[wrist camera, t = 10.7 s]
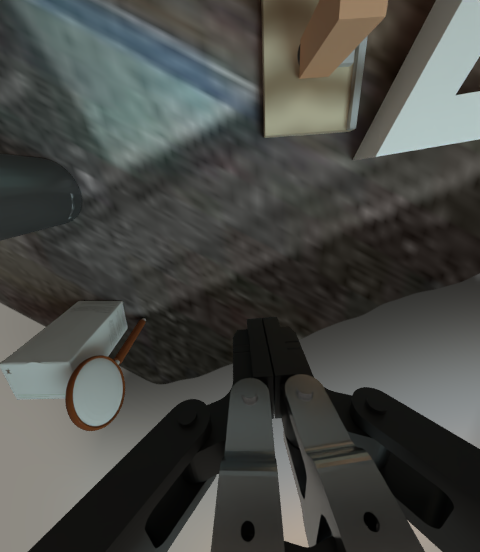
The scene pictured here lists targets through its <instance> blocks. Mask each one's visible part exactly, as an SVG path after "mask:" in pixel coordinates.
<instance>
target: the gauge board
mask: <svg viewBox="0 0 480 552" xmlns="http://www.w3.org/2000/svg"><path fill="white" fill-rule="evenodd" d="M318 2H319V0H261V7H262V62H263V117H264V138H269V137H283V136H297V135H311V134H325V133H339V132H350V131H352V130H354V129H355V128H356V124H357V116H358V108H359V100H360V92H361V84H362V76H363V68H364V61H365V53H366V45H367V37H368V36H367V37H366V38H365V39H364V40H363V41H362V42H361V43H360V44H359V45H358V46H357V47H356V48H355V54H354V63H353V64H352V65H351V66H349V67H337V68H336V69H335V71H334V72H333V73H332V74H331V75H330V76H329V77H319V78H305V79H299V70H300V41H301V37H302V35H303V33H304V31H305V29H306V27H307V25H308V23H309V21H310V19H311V17H312V15H313V13H314V11H315V9H316V7H317V4H318Z"/></svg>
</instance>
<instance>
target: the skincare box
mask: <svg viewBox="0 0 480 552" xmlns="http://www.w3.org/2000/svg"><path fill="white" fill-rule="evenodd" d="M127 328H128V327H127V322H126V317H125V312H124V307H123V302H122V301H78V302H77V303H76V304H74V305H73V306H72V307H71V308H69V309H68V310H67V311H66V312H64V313H63V314H62V315H61V316H59V317H58V318H57V319H56V320H54V321H53V322H52V323H51V324H49V325H48V326H47V327H46V328H44V329H43V330H42V331H41V332H39V333H38V334H37V335H35V336H34V337H33V338H32V339H30V340H29V341H28V342H27V343H25V344H24V345H23V346H22V347H20V348H19V349H18V350H17V351H16V352H14V353H13V354H12V355H10V356H9V357H8V358H6V359H5V360H4V361H2V362H1V363H0V368H1V370H2V372H3V374H4V376H5V377H6V379H7V381H8V383H9V385H10V387H11V389H12V391H13V393H14V395H15V397H16V398H17V399H53V398H54V399H55V398H65V396H66V389H67V385H68V381H69V379H70V377H71V375H72V373H73V371H74V370H75V369H76V368H77V366H78V365H79V364H80V363H82V362H83V361H84V360H86V359H88V358H90V357H93V356H98V355H103V356H107V357H108V356H109V354H110V353H111V351H112V350H113V349H114V347H115V346H116V344H117V343H118V341H119V340H120V338H121V337H122V335H123V334H124V333H125V331H126V330H127Z"/></svg>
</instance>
